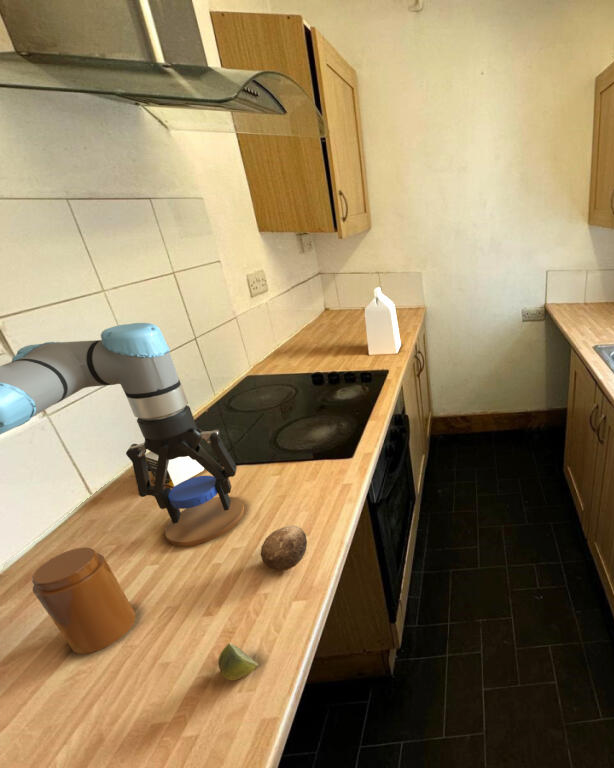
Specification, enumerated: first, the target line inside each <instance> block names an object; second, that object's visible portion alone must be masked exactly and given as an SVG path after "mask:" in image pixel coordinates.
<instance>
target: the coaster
mask: <svg viewBox="0 0 614 768" xmlns="http://www.w3.org/2000/svg"><path fill="white" fill-rule="evenodd" d="M229 498H230V501H231V502H230V507H229V510H226V511H224V508H223V505H222V503H221V500H220V497H219V496H217V497H216V496H215V497H213V498H212V499H211V500H209V501H207V502H205V503H203V504H201V505H198V506H195V507H192V508H186V509H182V511H180V512H181V515H180V518H179V521H178V523H174V524H173V522H172V520H171V519H170V521H169V522H168V524H167V525H166V527H165V531H164V535H165V537H166V539H167V541H168V542H169V543H170V544H172V545H174V546H178V547H179V546H180V547H190V546H191V547H192V546H195V545H201V544H203V543H207V542H210V541H212V540H215V539H216V538H219V537H220V536H222V535H225V534H226V533H227V532H228V531H231V529H233V528H234V527H235V526H236V525H237V524H238V523H239V522H240V521H241V520H242V518H243V516H244V513H245V507H244V503H243V502H242V500H241V499H239V498H237V497H234V496H229Z"/></svg>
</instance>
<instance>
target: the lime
mask: <svg viewBox="0 0 614 768" xmlns="http://www.w3.org/2000/svg"><path fill="white" fill-rule="evenodd" d="M217 664H218V669H219V674H220V675H221V676H222V677H223V678H225V679H227V680H229V681H237V680H239V679H242V678H244V677H247V676H248V675H250V674H251V673H253V672H254V671H255V670H256V669H257V667H258V666H259V663H258V662H257V661H255V660H254V658H252V657H251V656H250V655H248V654H247V653H245V652H244V651H243V650H242V649H241V648H240V647H238V646H236V645H235V644H233V643H232V642H229V643H227V644H226V646H224V647H223V649H222V650H221V652H220V654H219V656H218V661H217Z"/></svg>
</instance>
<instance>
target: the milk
mask: <svg viewBox="0 0 614 768" xmlns="http://www.w3.org/2000/svg"><path fill="white" fill-rule="evenodd" d="M373 295H374V298H373V299H372V300H371V301H370V302H369V304H368V305H367V306H365V308H364V321H365V331H366V341H367V348H368V350H367V351H368V355H370V356H371V355H376V356H377V355H393V354H394V355H396V354H398V352H399V350H400V348H401V346H402V342H401V337H400V329H399V323H398V318H397V310H396V305H395V303H394V302H393V301H392V300H391V299H390V298H389V297H387V296H386V295H385V294H383V292H382V290H381V286H376V287H375V288H374V289H373Z"/></svg>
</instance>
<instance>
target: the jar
mask: <svg viewBox="0 0 614 768" xmlns="http://www.w3.org/2000/svg"><path fill="white" fill-rule="evenodd" d="M31 579H32V581H31V582H32V584H33V585H32V593H33V594H34V595H35V597H36V599H37V600H38V601H39V603H40V604H41V605H42V608H43V609H44V610H45V611H46V614H48V616H49V617H50V619H51V620H52V622H53V623H54V624H55V626H56V628H57V629H58V630H59V632H60V634H61V635H62V636H63V638H64V639H65V641H66V642H67V644H68V645H69V646H70V648H71V650H72V651H73V652H74V653H77V654H80V655H86V654H87V655H88V654H91V653H96V652H98V651H100V650H103V649H105V648H107V647H109V646H110V645H112V644H115V642H117V641H118V640H119V639H121V638H122V637H123V636H124V635H125V634H126V633H128V632H129V631H130V629H131V628H132V627H133V625H134V623H135V621H136V617H137V615H136V614H137V613H136V612H135V610H134V608H133V606H132V604H131V602H129V598H128V597H127V595H126V594H125V592H124V590H123V589H122V586H121V585H120V583H119V581H118V579H117V578H116V575H115V574H114V572H113V570H112V568H111V567H110V565H109V563H108V561H107V559H106V558H105V556H104V554H101V553H98V552H96V550H95V549H94V548H92V547H86V546H85V547H84V546H83V547H77V548H73V549H70V550H67V551H64V552H62V553H59V554H58V555H56V556H54V557H52V558H50V559H49V560H47V561H45V562H44V563H43V564H41V565H40V566H39V567H38V568H37V569H36V570H35V572H34V573H33V574H32V578H31Z"/></svg>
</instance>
